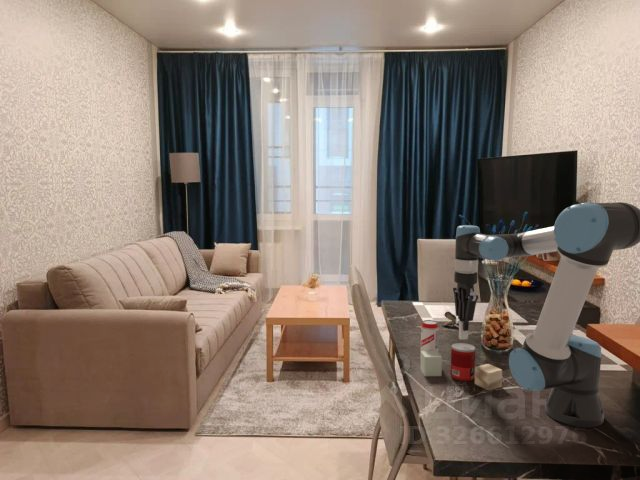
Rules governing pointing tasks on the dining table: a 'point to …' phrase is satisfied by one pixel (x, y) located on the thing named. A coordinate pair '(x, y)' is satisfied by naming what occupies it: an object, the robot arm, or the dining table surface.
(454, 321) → the snake figurine
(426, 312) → the dining table surface
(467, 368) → the canned food
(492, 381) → the birch block
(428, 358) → the sage block
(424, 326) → the beer can
